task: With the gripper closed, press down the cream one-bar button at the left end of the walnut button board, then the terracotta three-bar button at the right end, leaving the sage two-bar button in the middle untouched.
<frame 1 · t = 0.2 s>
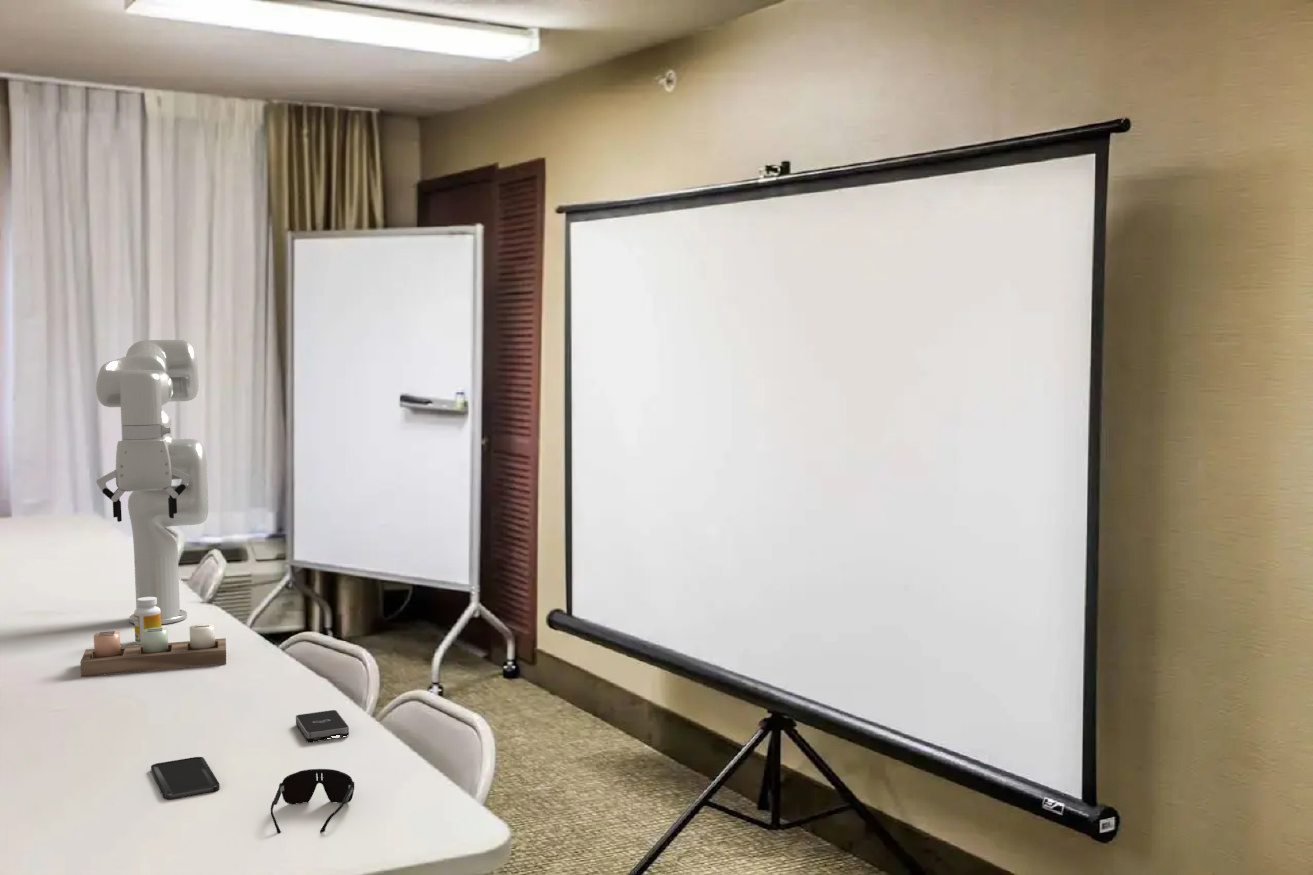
hand: (145, 519, 245), 30 cm above the table, tool pointing down, fingers open, 9 cm apart
supplement bottle: (148, 643, 269), on the table
button 2: (155, 639, 251), point 5 cm above the table, slide at 0.0 cm
phone: (185, 783, 186), on the table
button 3: (107, 643, 248), point 5 cm above the table, slide at 0.0 cm
external hard drive: (322, 733, 209), on the table
button board: (156, 664, 251), on the table
sunglasses: (310, 819, 172), on the table
button 1: (202, 635, 254), point 5 cm above the table, slide at 0.0 cm
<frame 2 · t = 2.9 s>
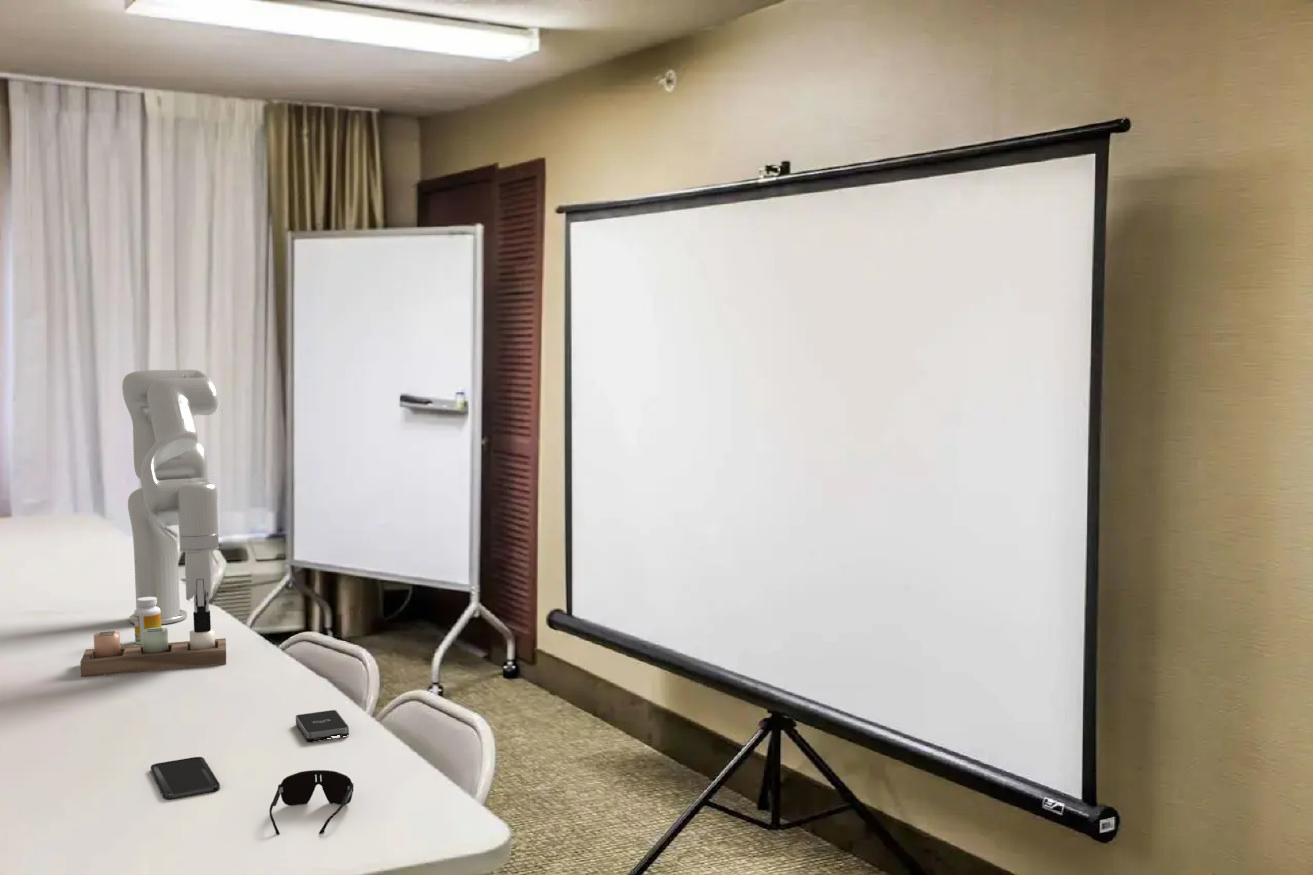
hand: (202, 630, 253), 6 cm above the table, tool pointing down, fingers closed
button 1: (202, 640, 254), point 4 cm above the table, slide at 0.9 cm, touching gripper
everything else where it was.
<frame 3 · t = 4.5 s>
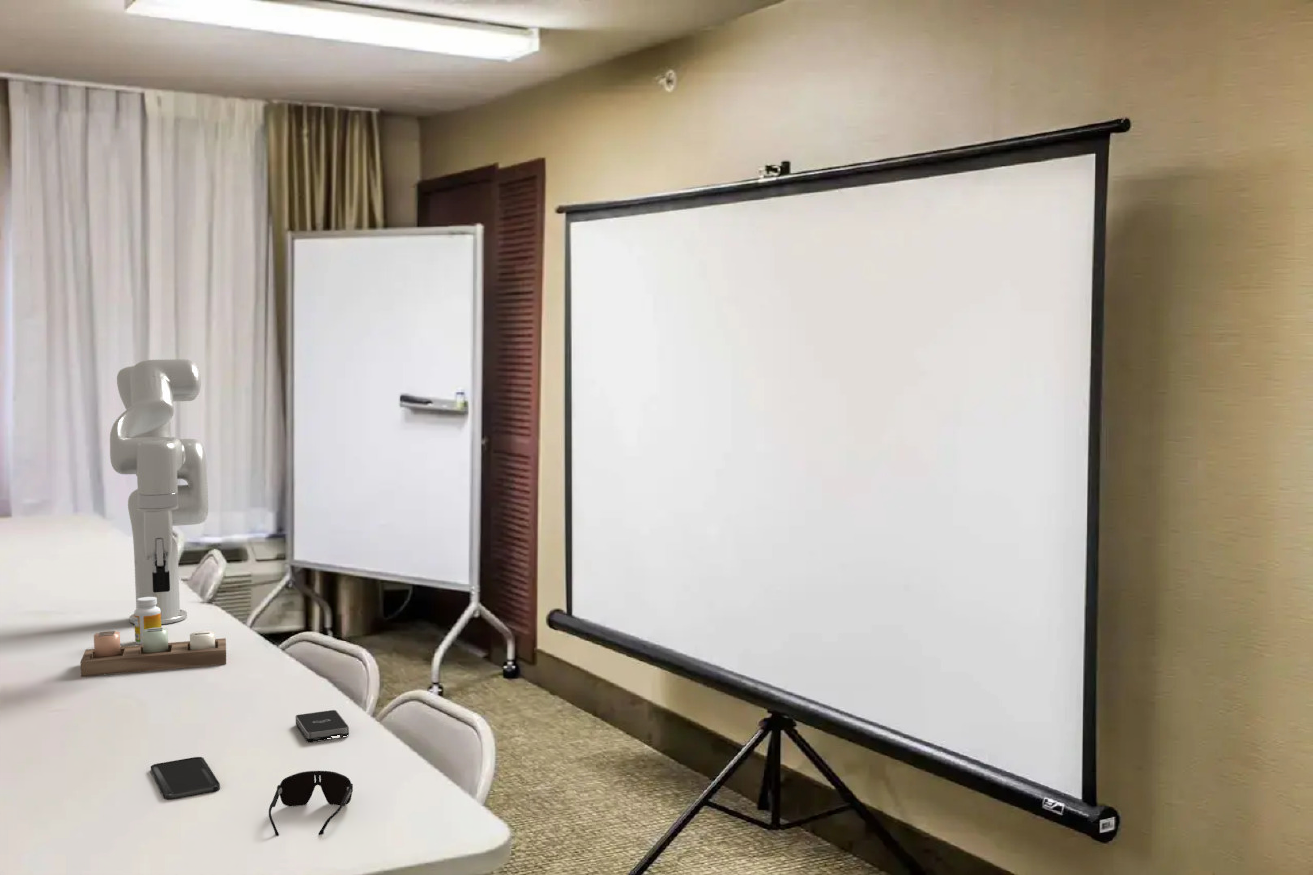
hand: (161, 591, 250), 15 cm above the table, tool pointing down, fingers closed
button 1: (202, 643, 254), point 4 cm above the table, slide at 1.5 cm
everything else where it was.
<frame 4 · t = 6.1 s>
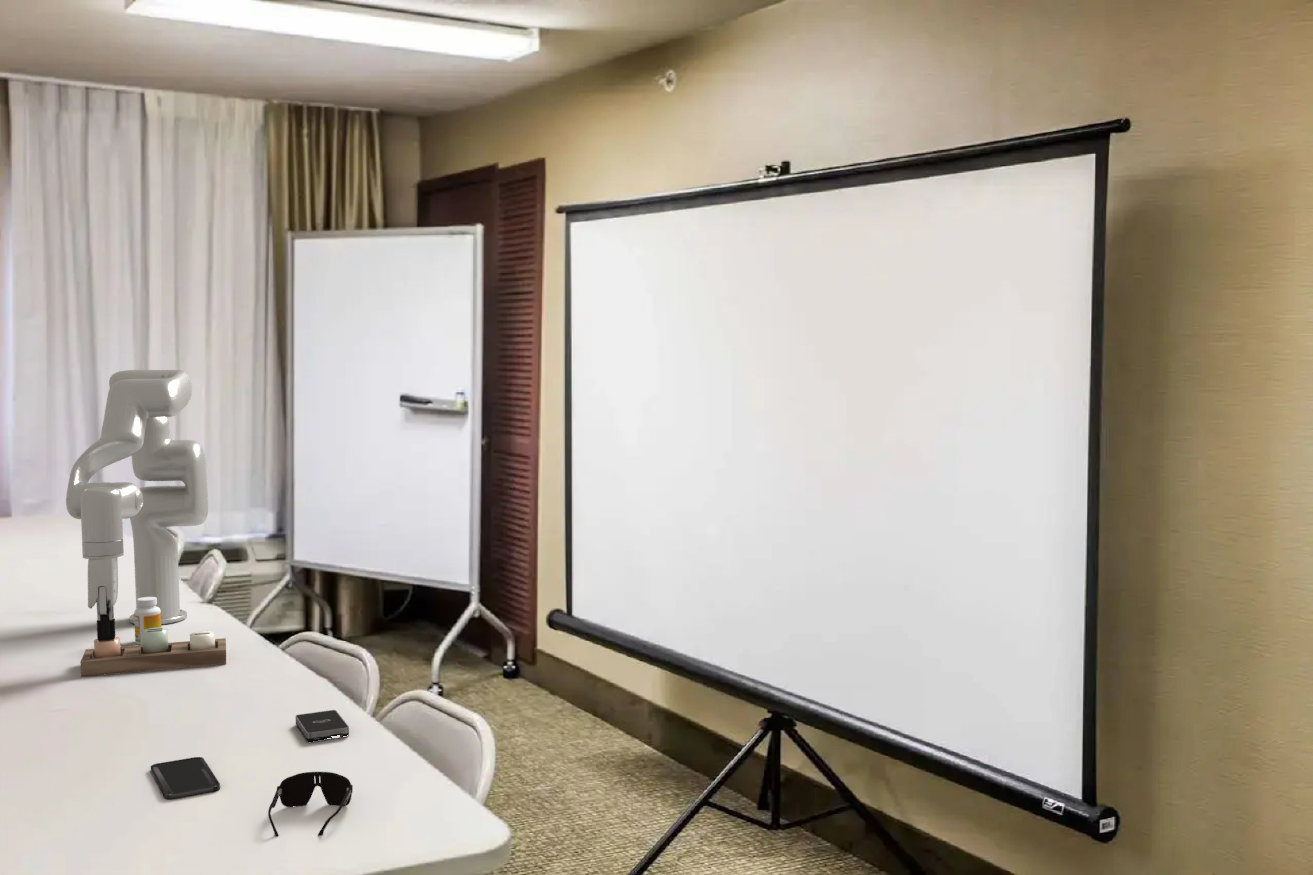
hand: (106, 639, 247), 6 cm above the table, tool pointing down, fingers closed
button 3: (107, 649, 248), point 4 cm above the table, slide at 1.1 cm
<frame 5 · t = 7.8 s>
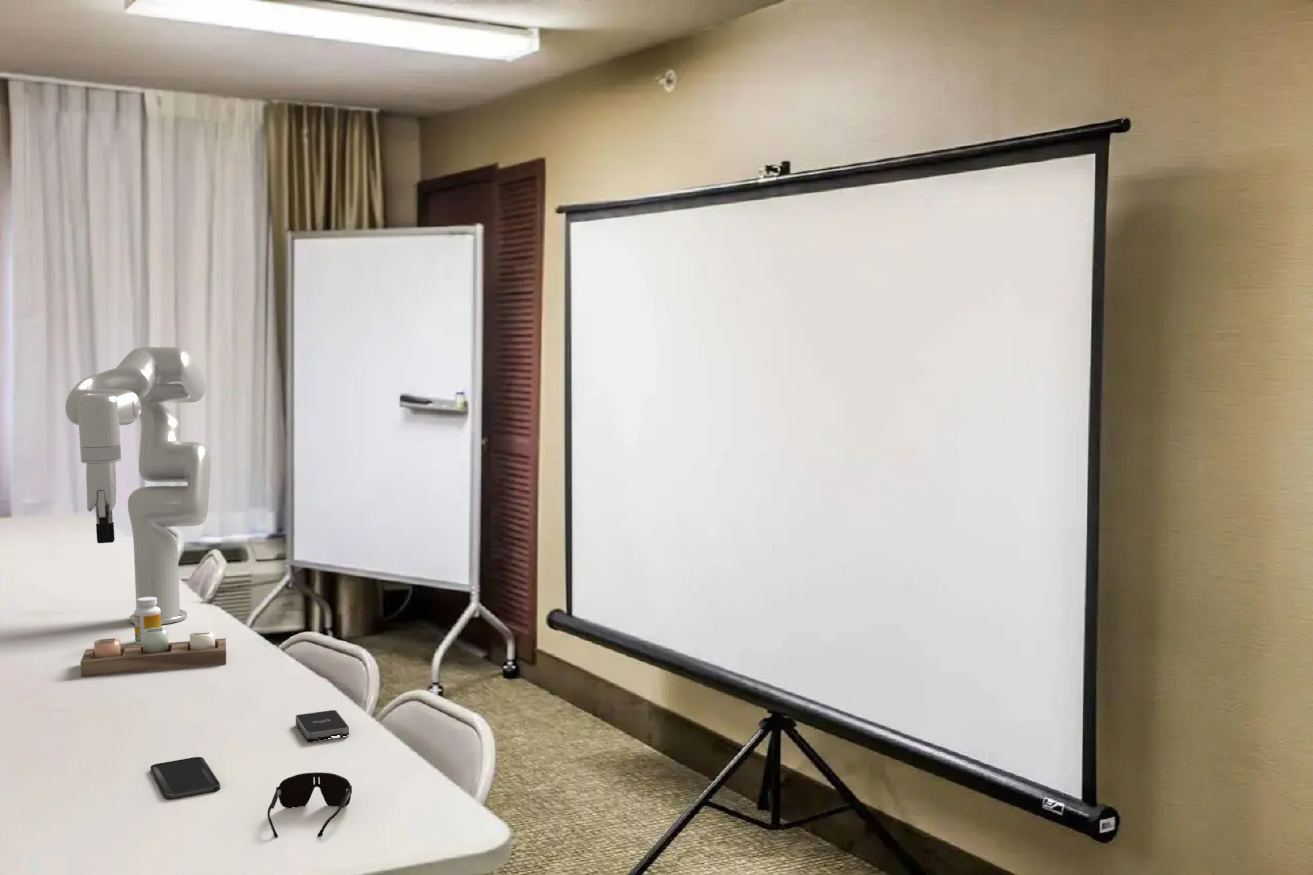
hand: (105, 541, 254), 24 cm above the table, tool pointing down, fingers closed
button 3: (107, 650, 248), point 4 cm above the table, slide at 1.5 cm
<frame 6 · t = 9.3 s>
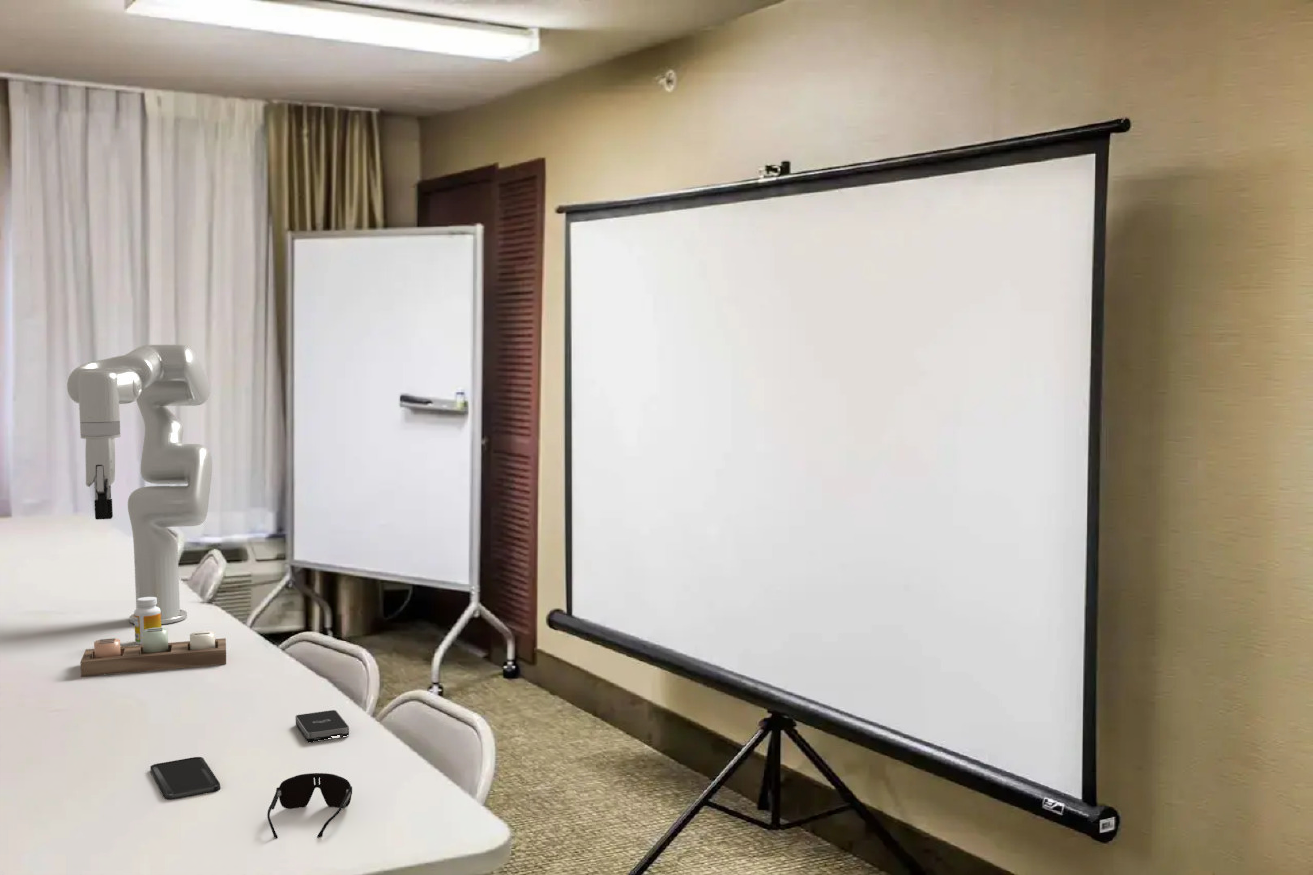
hand: (104, 518, 255), 29 cm above the table, tool pointing down, fingers closed
at the end: button 1 slide at 1.5 cm; button 3 slide at 1.5 cm; button 2 slide at 0.0 cm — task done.
